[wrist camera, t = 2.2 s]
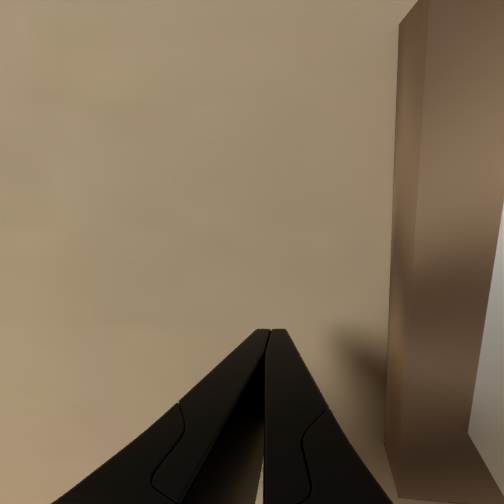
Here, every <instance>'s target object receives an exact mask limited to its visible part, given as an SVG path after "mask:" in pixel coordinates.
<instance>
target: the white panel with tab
mask: <svg viewBox="0 0 504 504" xmlns="http://www.w3.org/2000/svg"><path fill="white" fill-rule="evenodd" d="M468 434H469V436H470V438H471V440H472V441H473V443H474V445H475V447H476V448H477V450H478V452H479V454H480V455H481V457H482V459H483V461H484V462H485V464H486V466H487V468H488V469H489V471H490V473H491V475H492V476H493V478H494V480H495V482H496V483H497V485H498V487H499V489H500V490H501V492H502V494H503V496H504V203H503V210H502V216H501V222H500V229H499V235H498V242H497V248H496V255H495V261H494V267H493V274H492V280H491V287H490V293H489V299H488V306H487V312H486V319H485V325H484V332H483V338H482V344H481V351H480V357H479V364H478V370H477V376H476V383H475V389H474V396H473V402H472V409H471V415H470V421H469V428H468Z"/></svg>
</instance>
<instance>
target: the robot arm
mask: <svg viewBox="0 0 504 504" xmlns="http://www.w3.org/2000/svg"><path fill="white" fill-rule="evenodd" d="M263 456H264V468H263V504H393V503H392V501H391V500H390V498H389V497H388V496H387V494H386V493H385V492H384V490H383V489H382V487H381V486H380V485H379V483H378V482H377V481H376V479H375V478H374V477H373V475H372V474H371V472H370V471H369V470H368V468H367V467H366V466H365V464H364V463H363V461H362V460H361V458H360V457H359V456H358V454H357V453H356V451H355V450H354V448H353V447H352V445H351V444H350V443H349V441H348V439H347V438H346V436H345V434H344V433H343V431H342V429H341V428H340V426H339V424H338V423H337V421H336V419H335V417H334V415H333V413H332V412H331V410H330V409H329V407H328V405H327V403H326V401H325V399H324V397H323V396H322V394H321V392H320V390H319V388H318V386H317V385H316V383H315V381H314V379H313V377H312V376H311V374H310V372H309V370H308V368H307V366H306V365H305V363H304V361H303V359H302V357H301V356H300V354H299V352H298V350H297V348H296V346H295V345H294V343H293V341H292V339H291V337H290V336H289V334H288V332H287V330H286V329H272V330H270V329H257V330H255V331H254V332H253V333H252V334H251V335H250V336H249V337H248V338H246V339H245V340H244V341H243V342H242V343H241V344H240V345H239V346H238V347H237V348H236V349H235V350H233V351H232V352H231V353H230V354H229V355H228V356H227V357H226V358H225V359H224V360H223V361H222V362H220V363H219V364H218V365H217V366H216V367H215V368H214V369H213V370H212V371H211V372H210V373H209V374H207V375H206V376H205V377H204V378H203V379H202V380H201V381H200V382H199V383H198V384H197V385H196V386H194V387H193V388H192V389H191V390H190V391H189V392H188V393H187V394H186V395H185V396H184V397H183V398H181V399H180V400H179V403H176V404H175V405H174V406H173V407H172V408H170V409H169V410H168V411H167V412H166V413H165V414H164V415H163V416H162V417H160V418H159V419H158V420H157V421H156V422H155V423H154V424H152V425H151V426H150V427H149V428H148V429H147V430H146V431H144V432H143V433H142V434H141V435H139V436H138V437H137V438H136V439H134V440H133V441H132V442H131V443H129V444H128V445H127V446H126V447H125V448H123V449H122V450H121V451H119V452H118V453H117V454H116V455H114V456H113V457H112V458H110V459H109V460H108V461H107V462H105V463H104V464H103V465H101V466H100V467H99V468H98V469H96V470H95V471H94V472H92V473H91V474H90V475H89V476H87V477H86V478H85V479H83V480H82V481H81V482H80V483H78V484H77V485H76V486H74V487H73V488H72V489H71V490H69V491H68V492H67V493H65V494H64V495H63V496H61V497H60V498H58V499H57V500H56V501H54V502H52V503H51V504H255V501H256V495H257V490H258V484H259V479H260V473H261V468H262V462H263Z"/></svg>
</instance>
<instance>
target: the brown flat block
mask: <svg viewBox="0 0 504 504" xmlns="http://www.w3.org/2000/svg"><path fill="white" fill-rule="evenodd" d="M503 203H504V0H418V1H417V3H416V4H415V5H414V6H413V8H412V9H411V10H410V11H409V13H408V14H407V15H406V16H405V18H404V19H403V20H402V21H401V23H400V24H399V43H398V71H397V99H396V127H395V156H394V184H393V212H392V240H391V268H390V297H389V325H388V353H387V381H386V410H385V438H384V445H385V449H386V452H387V456H388V460H389V463H390V467H391V471H392V475H393V478H394V482H395V486H396V489H397V493H398V497H399V498H406V499H417V500H428V501H439V502H449V503H460V504H504V496H503V494H502V492H501V490H500V489H499V487H498V485H497V483H496V482H495V480H494V478H493V476H492V475H491V473H490V471H489V469H488V468H487V466H486V464H485V462H484V461H483V459H482V457H481V455H480V454H479V452H478V450H477V448H476V447H475V445H474V443H473V441H472V440H471V438H470V436H469V434H468V428H469V421H470V415H471V409H472V402H473V396H474V389H475V383H476V376H477V370H478V364H479V357H480V351H481V344H482V338H483V332H484V325H485V319H486V312H487V306H488V299H489V293H490V287H491V280H492V274H493V267H494V261H495V255H496V248H497V242H498V235H499V229H500V222H501V216H502V210H503Z"/></svg>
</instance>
